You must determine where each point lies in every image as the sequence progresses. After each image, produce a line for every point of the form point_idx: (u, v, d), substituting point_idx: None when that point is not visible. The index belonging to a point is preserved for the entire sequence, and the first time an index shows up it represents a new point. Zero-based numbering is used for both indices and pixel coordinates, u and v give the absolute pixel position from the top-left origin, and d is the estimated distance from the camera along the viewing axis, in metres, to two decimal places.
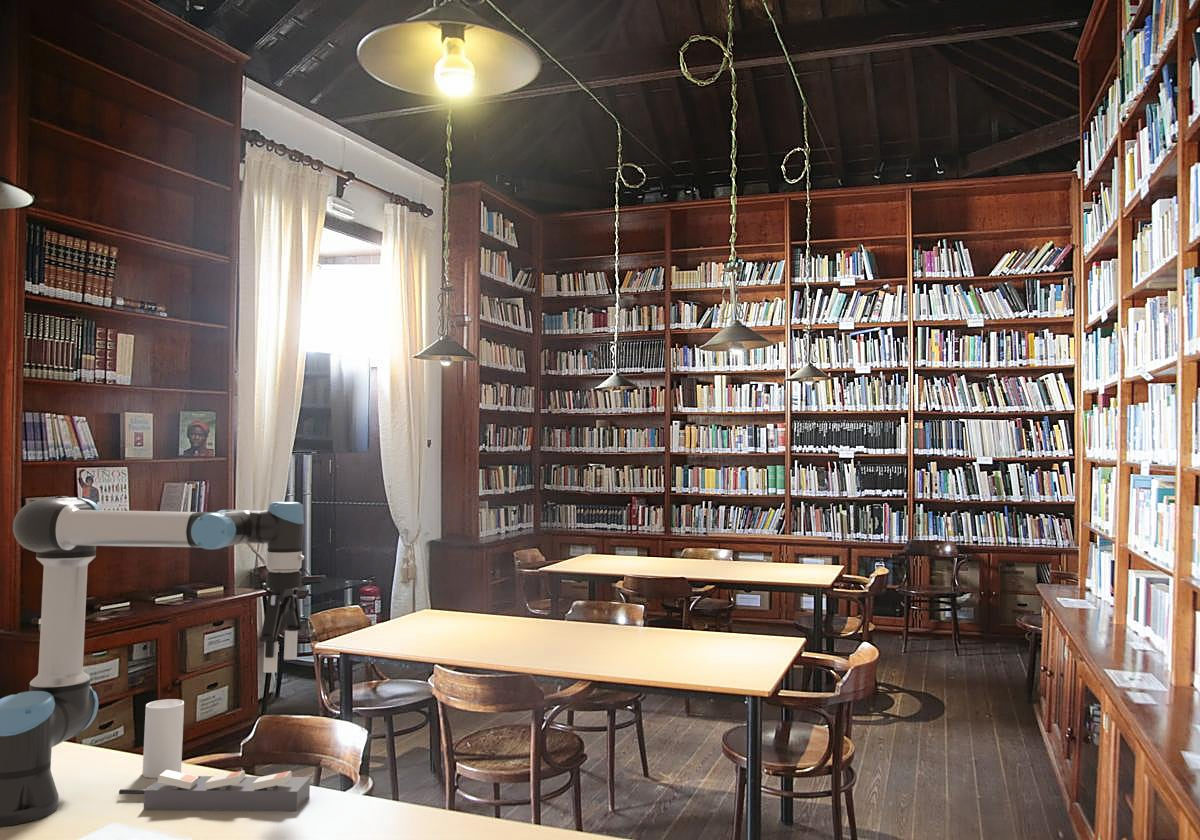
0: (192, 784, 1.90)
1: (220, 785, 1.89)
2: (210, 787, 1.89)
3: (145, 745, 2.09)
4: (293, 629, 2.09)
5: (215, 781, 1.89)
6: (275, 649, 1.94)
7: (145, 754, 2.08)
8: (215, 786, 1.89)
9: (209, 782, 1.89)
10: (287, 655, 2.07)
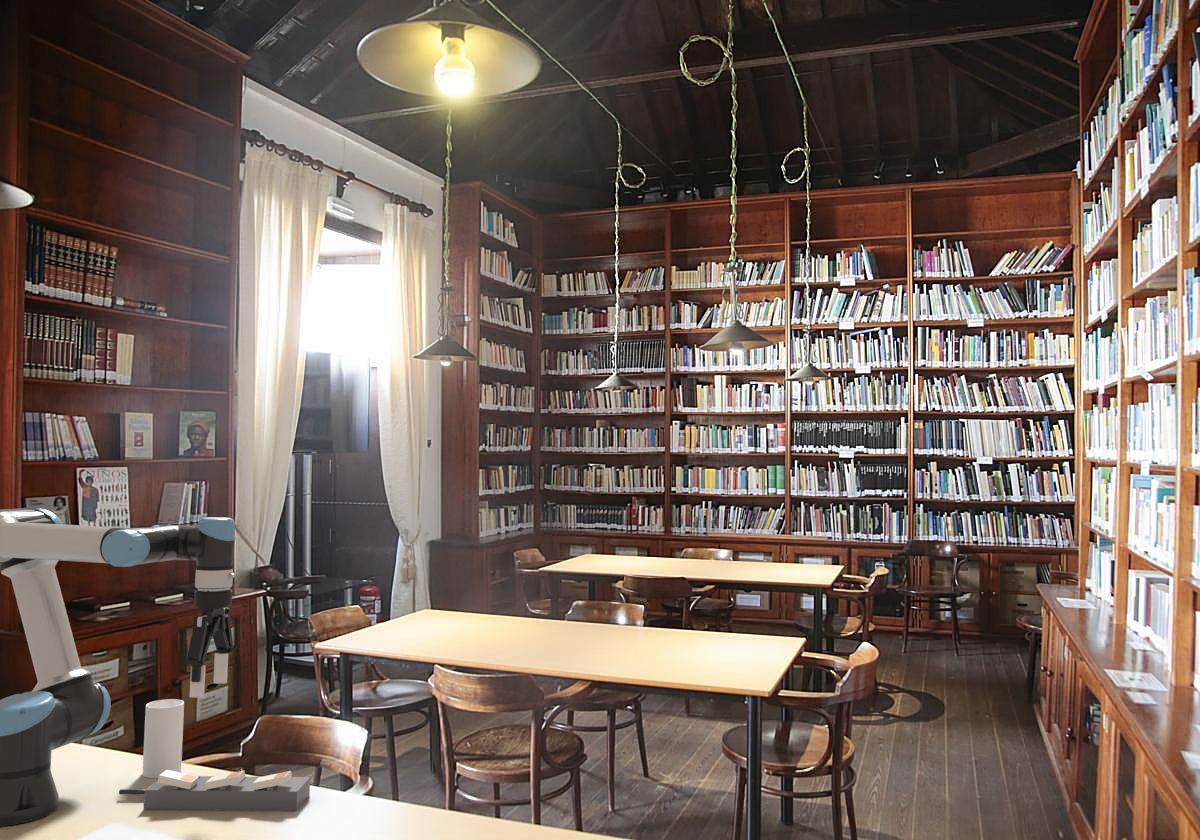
0: (192, 784, 1.90)
1: (220, 785, 1.89)
2: (210, 787, 1.89)
3: (145, 745, 2.09)
4: (223, 651, 2.00)
5: (215, 781, 1.89)
6: (202, 673, 1.87)
7: (145, 754, 2.08)
8: (215, 786, 1.89)
9: (209, 782, 1.89)
10: (216, 679, 1.99)
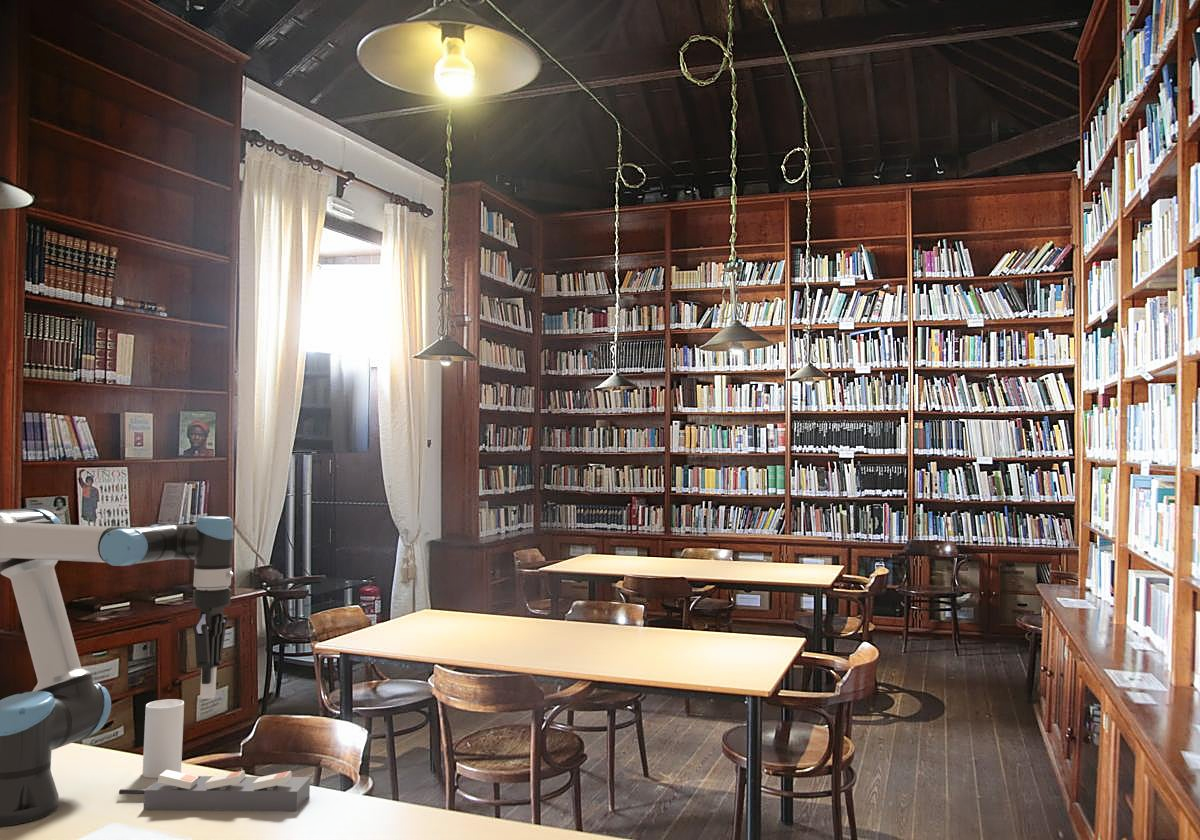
0: (192, 784, 1.90)
1: (220, 785, 1.89)
2: (210, 787, 1.89)
3: (145, 745, 2.09)
4: None
5: (215, 781, 1.89)
6: (212, 675, 1.93)
7: (145, 754, 2.08)
8: (215, 786, 1.89)
9: (209, 782, 1.89)
10: None
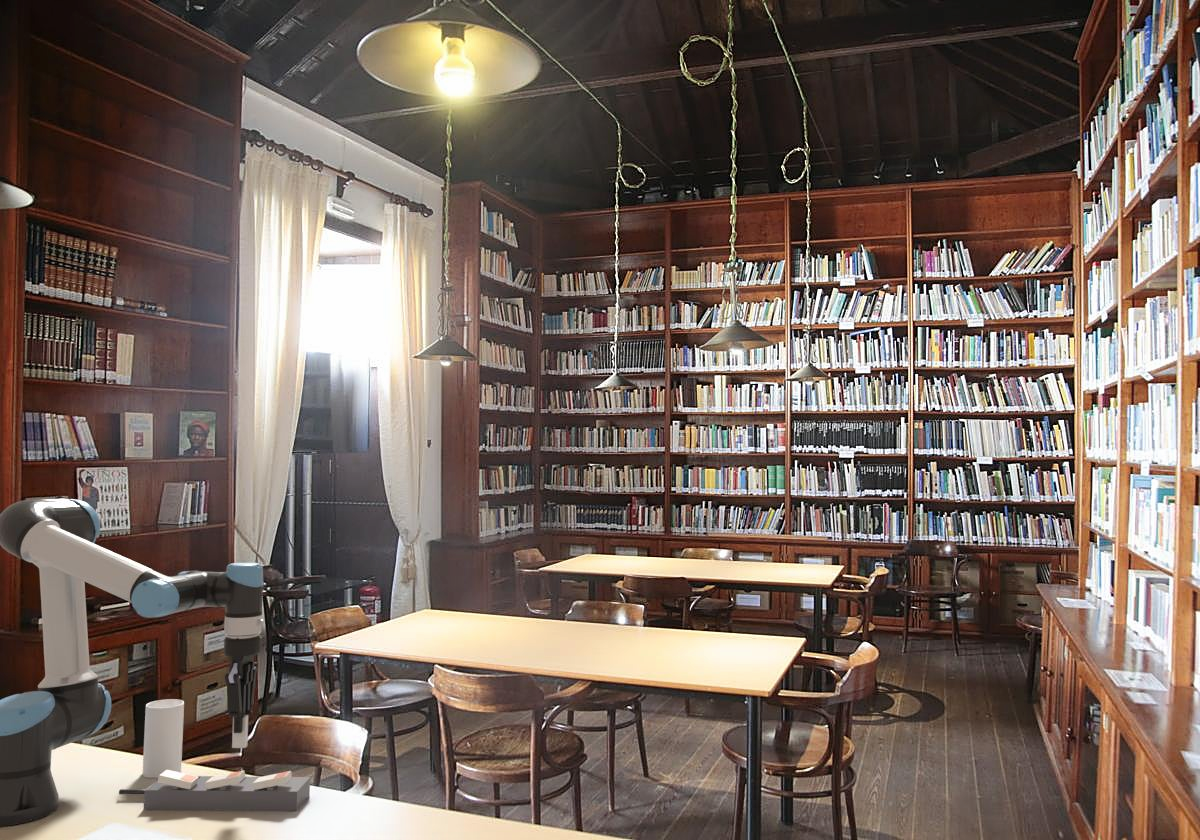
0: (192, 784, 1.90)
1: (220, 785, 1.89)
2: (210, 787, 1.89)
3: (145, 745, 2.09)
4: None
5: (215, 781, 1.89)
6: (244, 724, 1.91)
7: (145, 754, 2.08)
8: (215, 786, 1.89)
9: (209, 782, 1.89)
10: None
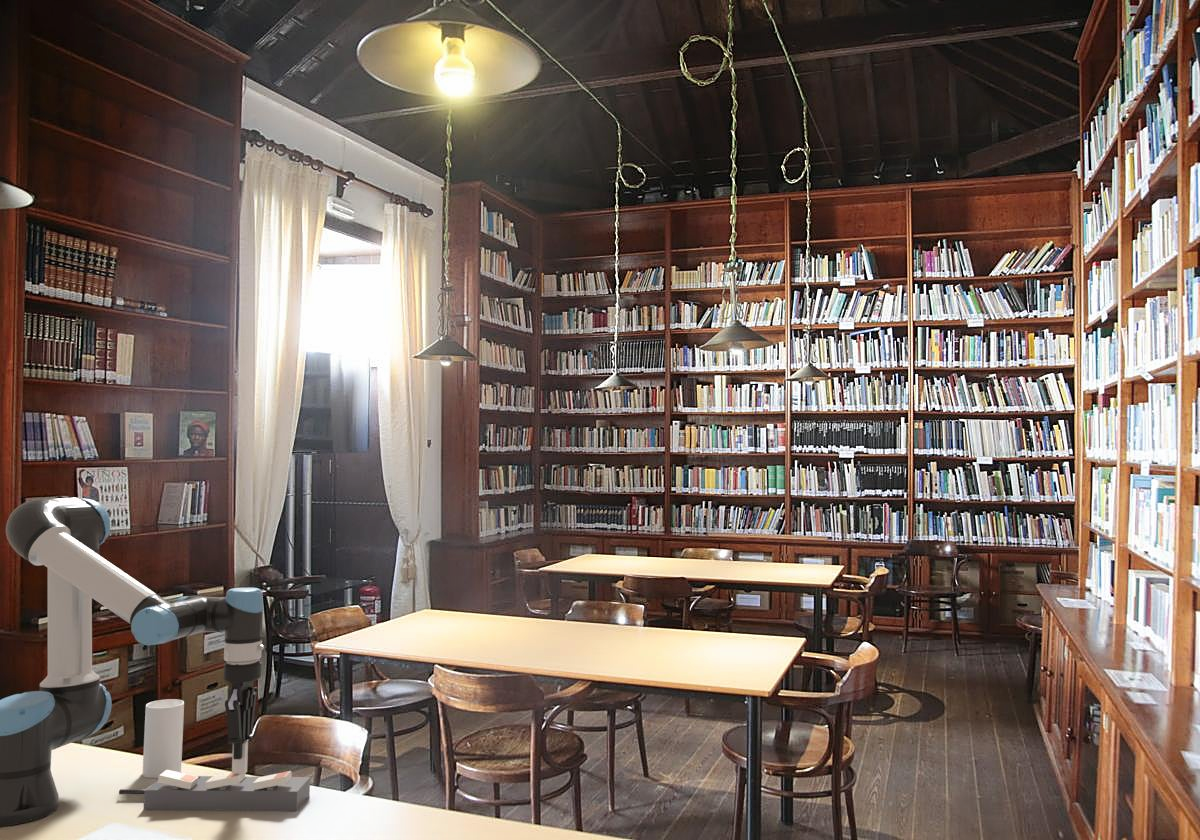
0: (192, 784, 1.90)
1: (220, 785, 1.89)
2: (210, 787, 1.89)
3: (145, 745, 2.09)
4: None
5: (215, 781, 1.89)
6: (244, 750, 1.91)
7: (145, 754, 2.08)
8: (215, 786, 1.89)
9: (209, 782, 1.89)
10: None
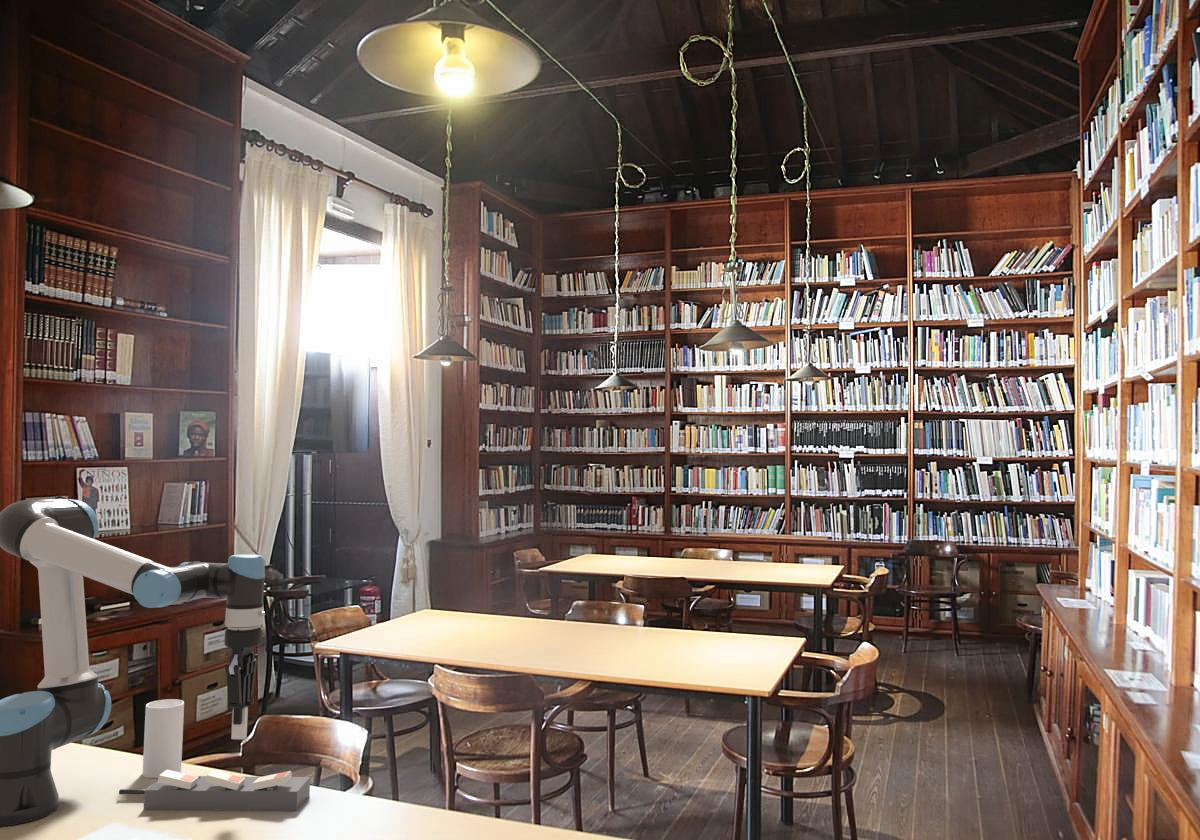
0: (192, 784, 1.90)
1: (219, 784, 1.89)
2: (209, 781, 1.89)
3: (145, 745, 2.09)
4: None
5: (216, 778, 1.89)
6: (243, 715, 1.91)
7: (145, 754, 2.08)
8: (214, 783, 1.89)
9: (211, 776, 1.89)
10: None
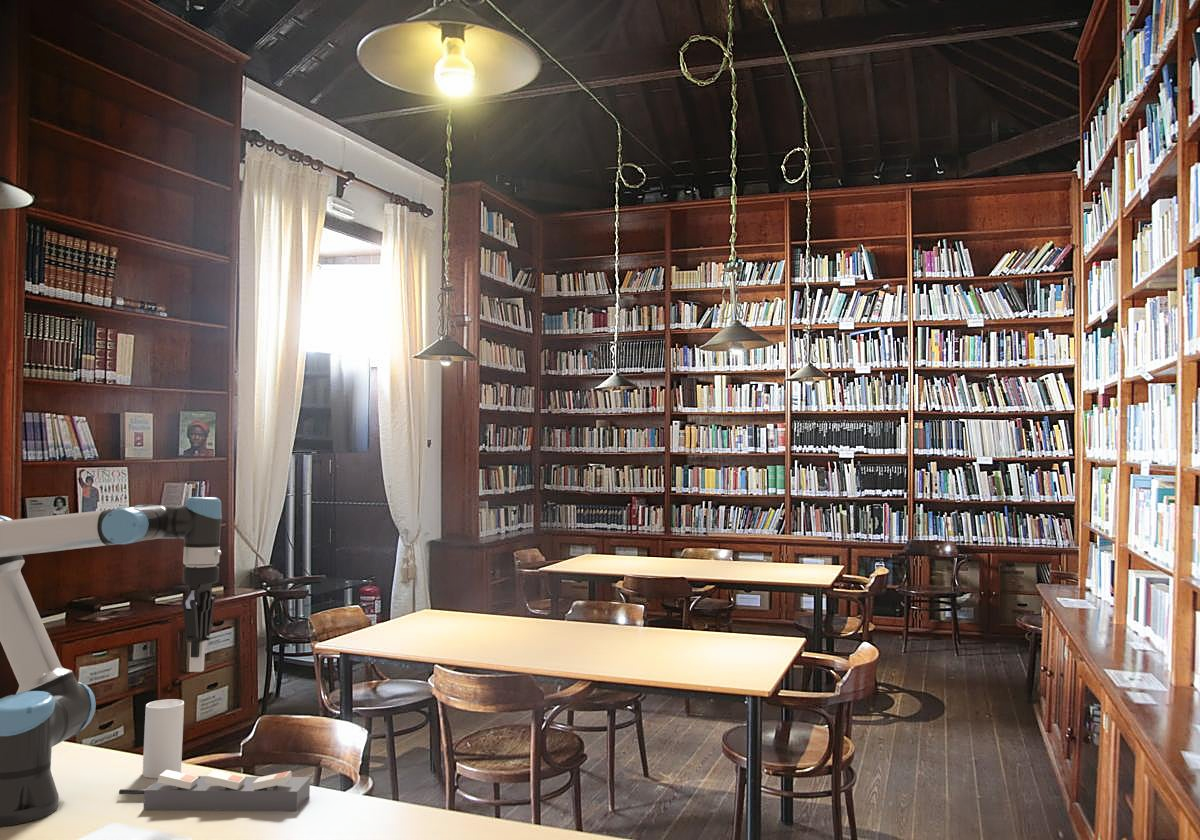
0: (192, 784, 1.90)
1: (219, 784, 1.89)
2: (209, 782, 1.89)
3: (145, 745, 2.09)
4: None
5: (216, 778, 1.89)
6: (201, 649, 2.01)
7: (145, 754, 2.08)
8: (214, 783, 1.89)
9: (210, 777, 1.89)
10: None
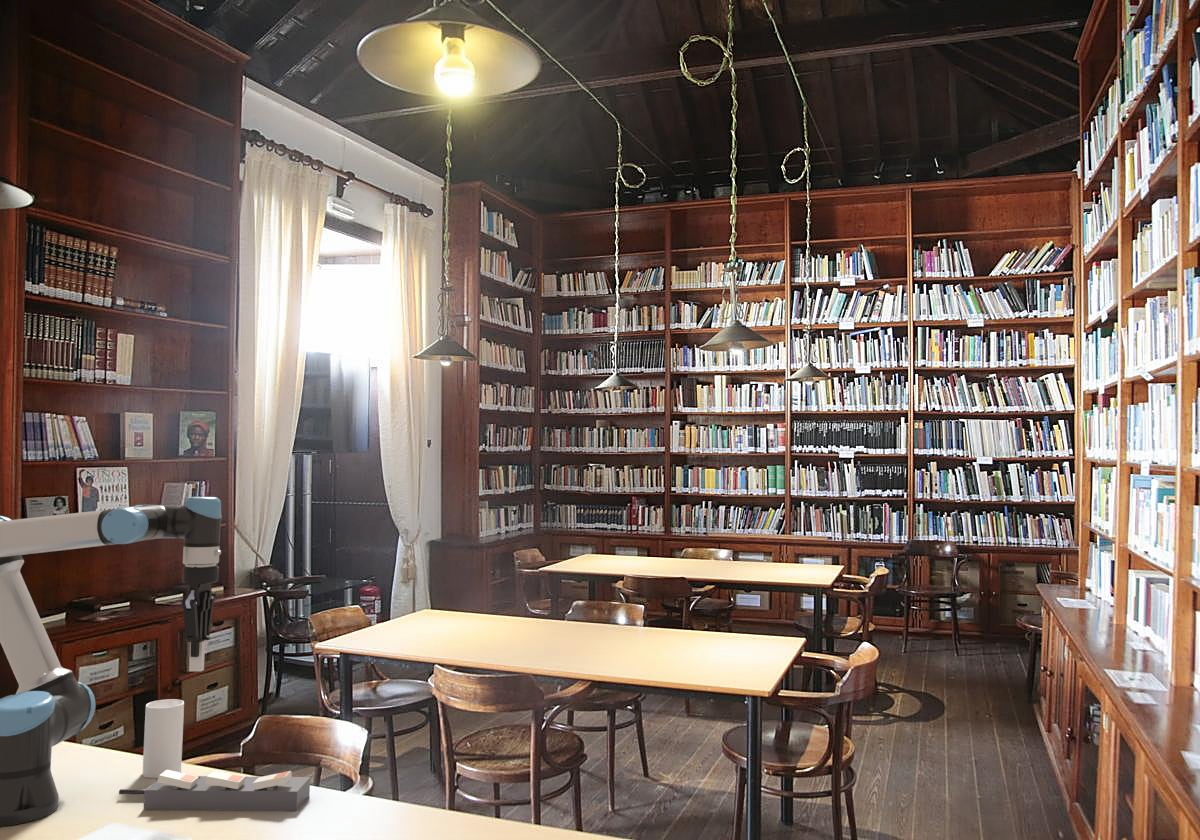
0: (192, 784, 1.90)
1: (219, 784, 1.89)
2: (209, 782, 1.89)
3: (145, 745, 2.09)
4: None
5: (216, 779, 1.89)
6: (200, 649, 2.01)
7: (145, 754, 2.08)
8: (214, 783, 1.89)
9: (210, 777, 1.89)
10: None
